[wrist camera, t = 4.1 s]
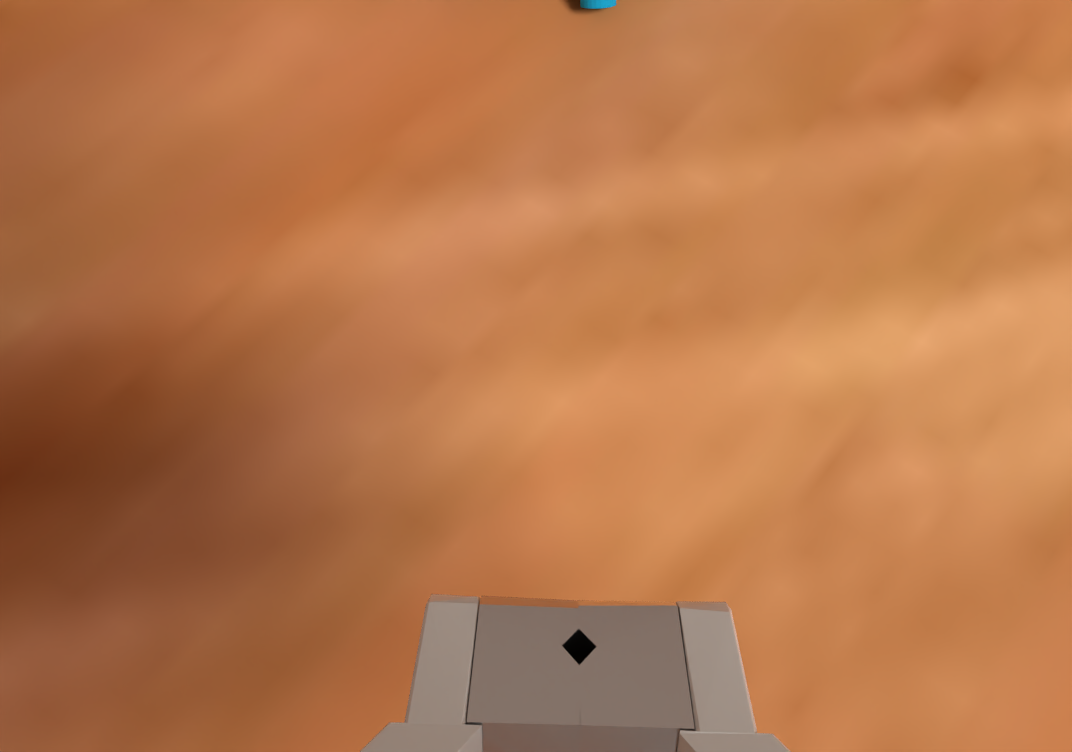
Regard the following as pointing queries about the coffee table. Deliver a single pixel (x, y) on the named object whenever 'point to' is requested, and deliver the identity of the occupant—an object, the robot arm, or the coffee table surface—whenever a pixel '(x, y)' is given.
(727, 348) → the coffee table surface
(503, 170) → the coffee table surface
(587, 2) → the gear
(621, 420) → the coffee table surface
